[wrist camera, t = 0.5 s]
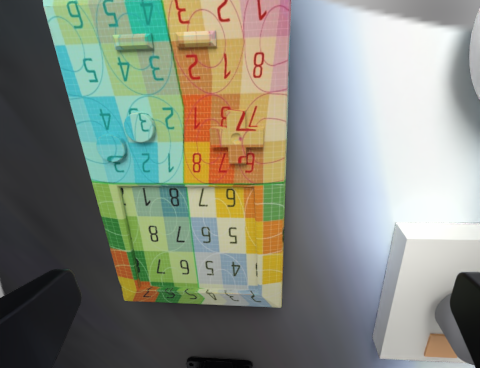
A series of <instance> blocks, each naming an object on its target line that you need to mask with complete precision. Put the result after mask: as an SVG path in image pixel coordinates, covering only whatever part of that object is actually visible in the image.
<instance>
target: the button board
mask: <svg viewBox="0 0 480 368" xmlns="http://www.w3.org/2000/svg"><path fill="white" fill-rule="evenodd" d="M460 272H480V223H396V224H395V229H394V234H393V239H392V244H391V249H390V254H389V259H388V263H387V268H386V273H385V278H384V283H383V288H382V293H381V298H380V302H379V307H378V312H377V317H376V322H375V327H374V332H373V337H372V338H373V341H374V344H375V347H376V349H377V352H378V355H379V358H380V359H396V360H416V361H435V362H455V363H466V362H464V361H462V360H461V359H460V358H458V357H457V355H456V354H455V352H454V351H453V349H452V347H451V345H450V344H449V342H448V340H447V339H446V337H445V335H444V334H443V332H442V330H441V328H440V327H439V325H438V323H437V322H436V319H435V310H436V307H437V305H438V304H439V303H440V301H441V300H442V299H443V298H445V297H446V296H447V295H449V294H450V293H452V290H453V287H454V283H455V280H456V277H457V275H458V274H459V273H460Z"/></svg>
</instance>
